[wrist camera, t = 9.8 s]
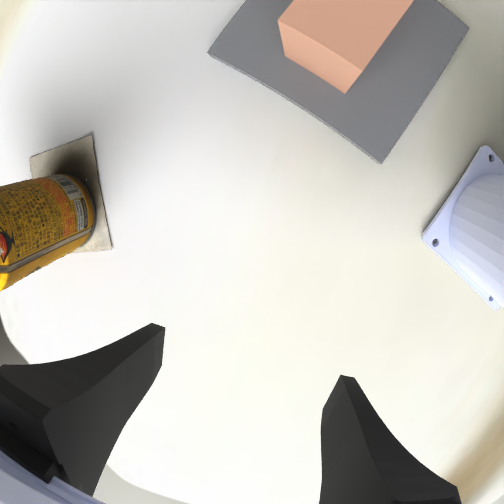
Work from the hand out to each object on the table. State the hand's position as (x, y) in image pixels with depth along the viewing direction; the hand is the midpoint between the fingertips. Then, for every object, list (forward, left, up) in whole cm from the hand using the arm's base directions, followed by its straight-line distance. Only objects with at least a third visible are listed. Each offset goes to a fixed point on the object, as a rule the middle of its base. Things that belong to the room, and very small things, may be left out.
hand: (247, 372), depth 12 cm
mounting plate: (+5, -16, -9) cm, 19 cm away
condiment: (+16, +4, -10) cm, 19 cm away
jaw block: (+5, -16, -8) cm, 19 cm away
